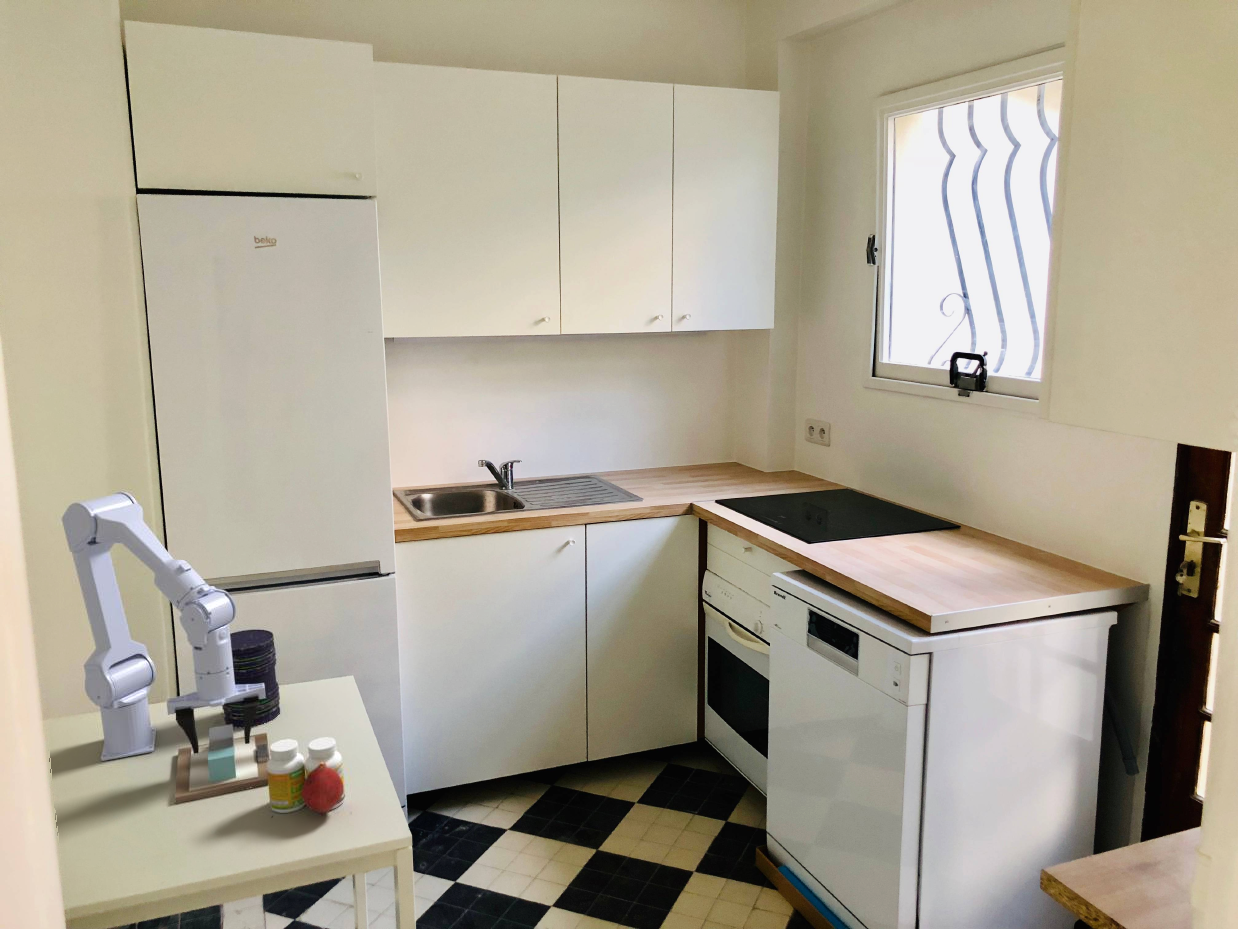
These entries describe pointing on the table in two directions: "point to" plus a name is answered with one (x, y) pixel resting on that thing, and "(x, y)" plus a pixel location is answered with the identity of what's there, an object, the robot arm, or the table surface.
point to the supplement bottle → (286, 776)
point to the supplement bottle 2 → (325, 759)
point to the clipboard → (197, 780)
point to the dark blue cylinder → (254, 675)
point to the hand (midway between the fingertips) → (221, 746)
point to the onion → (322, 789)
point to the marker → (221, 753)
